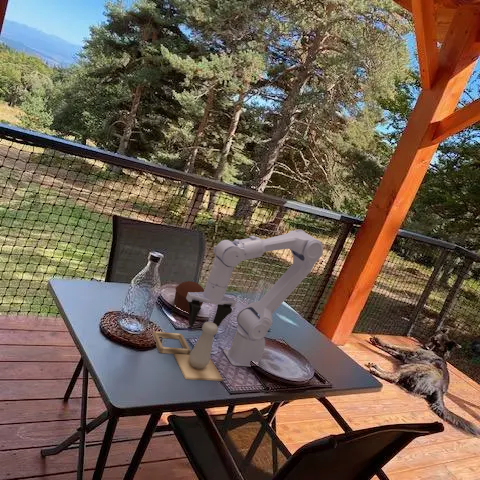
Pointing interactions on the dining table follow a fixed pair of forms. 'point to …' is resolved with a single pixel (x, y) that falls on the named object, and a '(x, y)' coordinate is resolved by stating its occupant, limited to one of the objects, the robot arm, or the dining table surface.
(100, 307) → the dining table surface
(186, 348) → the birch collar
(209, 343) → the beige bowling pin
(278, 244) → the robot arm
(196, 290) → the muffin
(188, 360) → the cork mat
